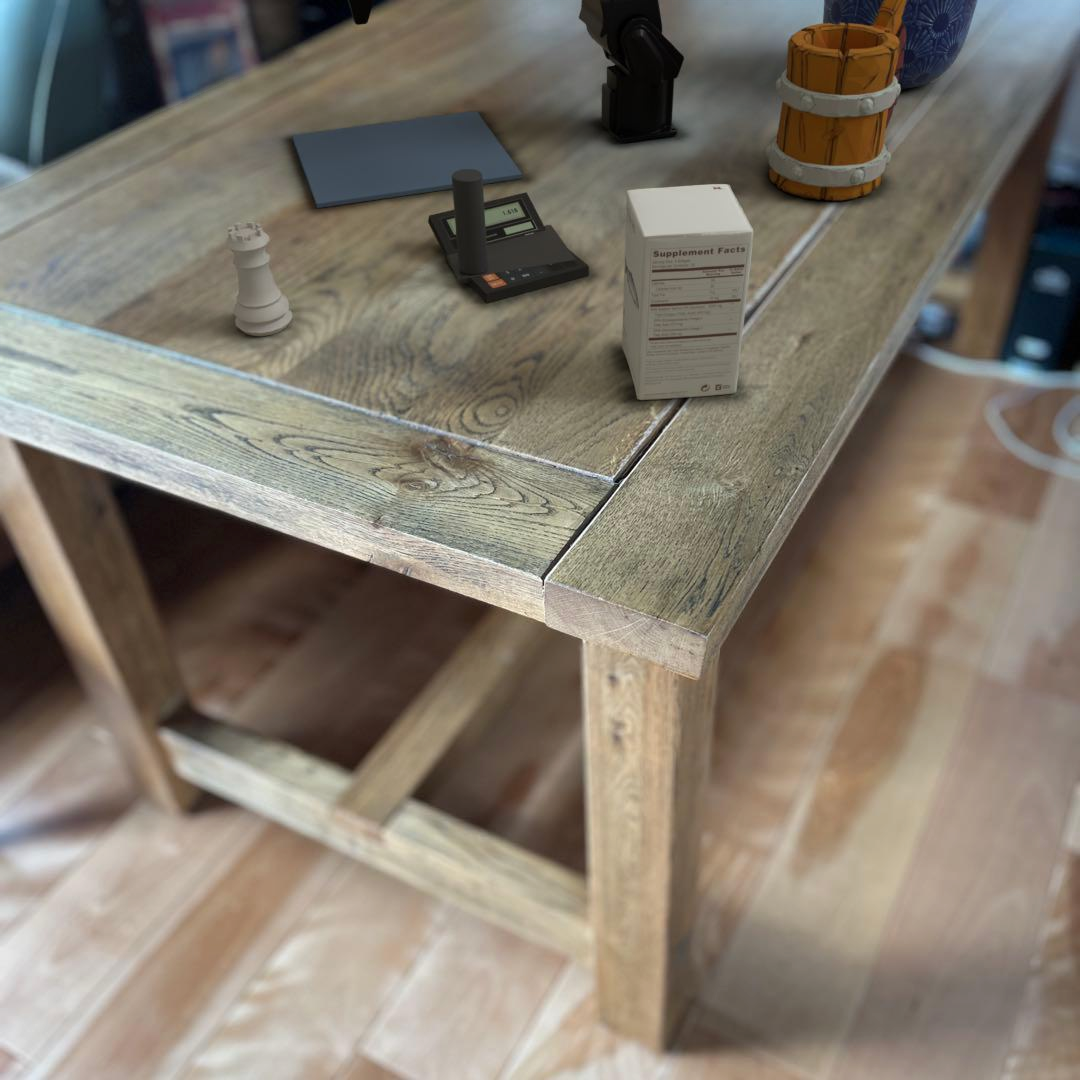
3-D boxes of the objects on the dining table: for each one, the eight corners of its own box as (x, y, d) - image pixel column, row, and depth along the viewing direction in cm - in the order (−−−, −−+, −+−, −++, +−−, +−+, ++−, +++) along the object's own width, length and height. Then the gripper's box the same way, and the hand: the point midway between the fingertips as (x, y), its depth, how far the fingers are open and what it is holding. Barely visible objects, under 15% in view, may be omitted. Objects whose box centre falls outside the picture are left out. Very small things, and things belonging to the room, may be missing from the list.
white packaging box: (619, 348, 83) (624, 186, 75) (717, 342, 84) (732, 180, 76) (634, 403, 78) (640, 235, 70) (738, 396, 78) (757, 228, 70)
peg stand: (551, 229, 98) (549, 134, 92) (575, 264, 93) (575, 165, 87) (440, 247, 96) (432, 150, 90) (460, 283, 91) (452, 183, 85)
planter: (937, 113, 118) (971, -44, 108) (787, 88, 125) (805, -63, 115) (981, 66, 129) (1015, -81, 119) (840, 45, 135) (861, -96, 125)
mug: (742, 183, 106) (759, 15, 96) (834, 133, 114) (858, -26, 105) (841, 214, 100) (870, 39, 90) (930, 159, 109) (965, -6, 99)
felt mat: (476, 115, 121) (476, 110, 120) (522, 178, 108) (522, 173, 107) (292, 139, 117) (291, 134, 116) (317, 208, 103) (316, 203, 103)
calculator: (487, 303, 89) (485, 269, 87) (430, 246, 97) (427, 213, 95) (588, 275, 92) (588, 241, 90) (525, 222, 100) (524, 190, 98)
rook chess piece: (303, 314, 88) (286, 219, 83) (275, 342, 85) (255, 245, 80) (254, 306, 90) (234, 212, 84) (225, 333, 86) (202, 237, 81)
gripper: (218, -203, 96) (252, -8, 106) (238, -169, 82) (275, 50, 93) (345, -211, 98) (367, -20, 108) (385, -180, 85) (406, 35, 95)
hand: (352, 9), depth 101 cm, fingers open, 9 cm apart
